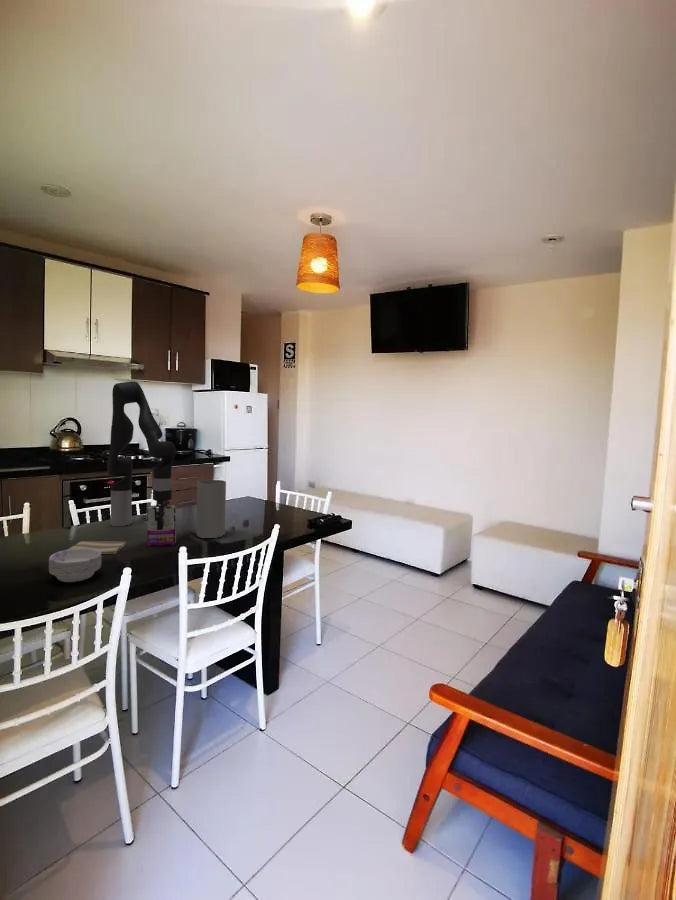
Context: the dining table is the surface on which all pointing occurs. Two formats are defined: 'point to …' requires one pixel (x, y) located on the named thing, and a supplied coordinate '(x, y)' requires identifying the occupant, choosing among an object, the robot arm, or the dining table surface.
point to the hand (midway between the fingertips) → (161, 527)
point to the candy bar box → (169, 527)
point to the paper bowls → (74, 564)
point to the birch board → (101, 546)
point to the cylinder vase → (211, 508)
